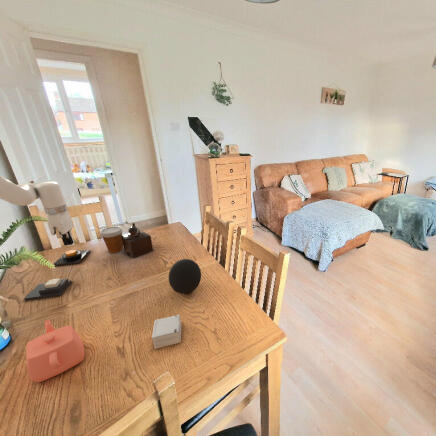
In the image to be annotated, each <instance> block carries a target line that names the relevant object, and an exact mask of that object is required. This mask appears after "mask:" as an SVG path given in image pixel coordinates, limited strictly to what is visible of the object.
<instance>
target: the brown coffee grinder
mask: <svg viewBox="0 0 436 436" xmlns="http://www.w3.org/2000/svg"><path fill="white" fill-rule="evenodd" d="M121 239H122V243H123V252H124V253H125V254H126V255H127V256H129V257H131V258H133V259H135V258H137V257H142V256H143V255H146V254H148V253H151V252H153V251H154V247H153V241H152V236H151V234H148V233H147V232H145V231H143V230H142V229H141V230H140V229H139V228H138V227H137V226H136V223H135V222H133V223H131V227H128V233H127V234H124V235H122V236H121Z"/></svg>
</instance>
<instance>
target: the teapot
mask: <svg viewBox="0 0 436 436" xmlns="http://www.w3.org/2000/svg"><path fill="white" fill-rule="evenodd" d="M44 326H45V333H44V334H41V335H39V336H37V337H35V338H33V339H31V340H30V341H28V342H27V344H26V350H25V351H26V353H25V355H26V356H25V357H26V367H27V372H28V377H29V378H30V380H31V381H33V382H34V383H41V382H44V381H46V380H48V379H50V378H53V377H56V376H57V375H60V374H62V373H64V372H66V371H68V370H69V369H71V368H73V367H75V366H76V365H78V364H80V363H81V362H82V361H83V360H84V359H85V347H84V343H83V341H82V338H81V336H80V334H79V332H77V330H76V329H75V328H74V327H73V326H71V325H65V326H62V327H59V328H55V327H54V326H53V323H52V322H51V320H50V319H46V320H45V321H44Z"/></svg>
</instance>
